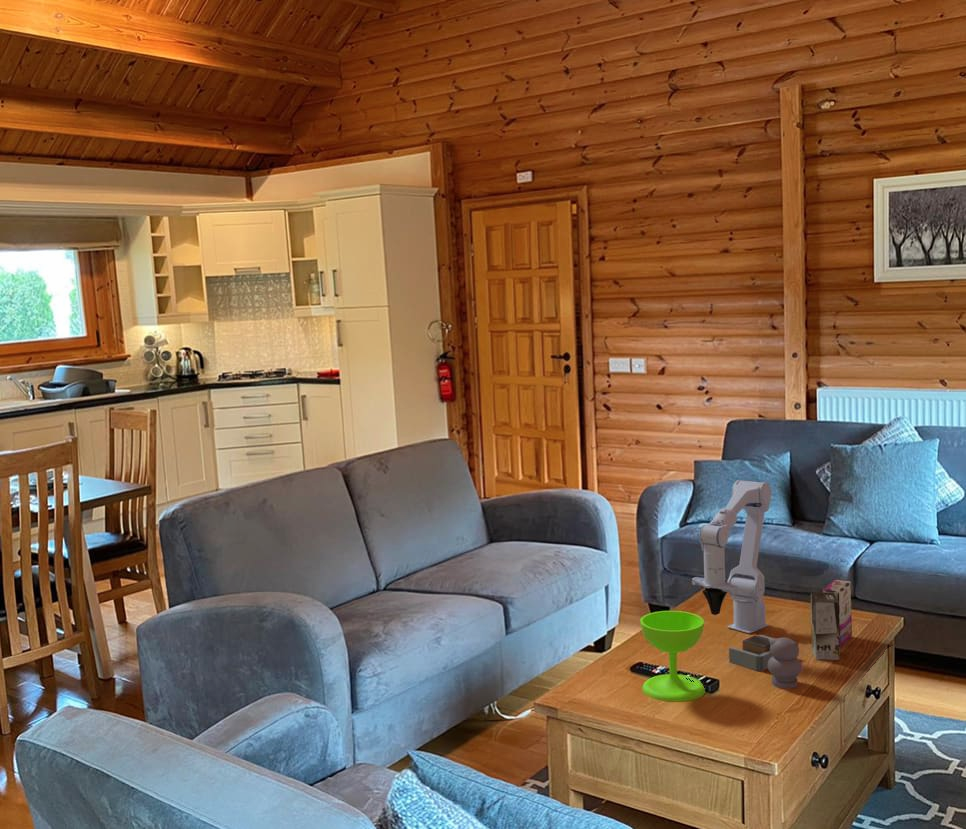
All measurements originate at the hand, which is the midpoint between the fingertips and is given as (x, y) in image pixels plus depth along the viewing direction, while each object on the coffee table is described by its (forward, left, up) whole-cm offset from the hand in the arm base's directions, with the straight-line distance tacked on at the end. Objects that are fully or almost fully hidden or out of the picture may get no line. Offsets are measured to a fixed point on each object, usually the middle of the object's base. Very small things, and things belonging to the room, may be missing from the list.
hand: (715, 613), depth 275 cm
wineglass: (+32, +11, -10) cm, 35 cm away
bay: (0, +15, -10) cm, 18 cm away
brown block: (0, +15, -10) cm, 18 cm away
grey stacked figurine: (+10, +29, -10) cm, 32 cm away
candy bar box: (-26, +22, -10) cm, 36 cm away
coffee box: (-15, +25, -10) cm, 31 cm away
